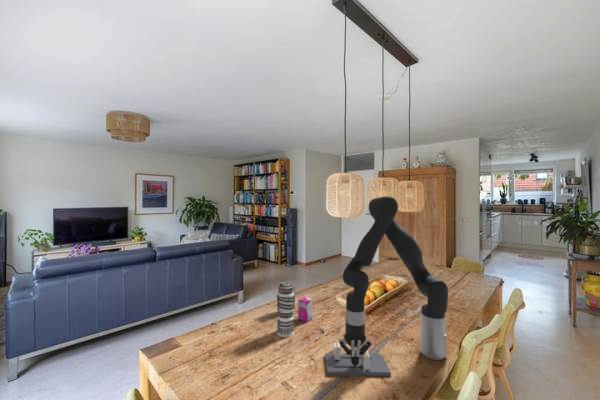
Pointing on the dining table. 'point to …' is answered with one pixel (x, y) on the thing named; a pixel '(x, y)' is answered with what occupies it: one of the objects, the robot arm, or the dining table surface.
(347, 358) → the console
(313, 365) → the dining table surface
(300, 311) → the supplement box
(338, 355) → the white fader
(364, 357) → the grey fader
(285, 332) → the decorative candle
